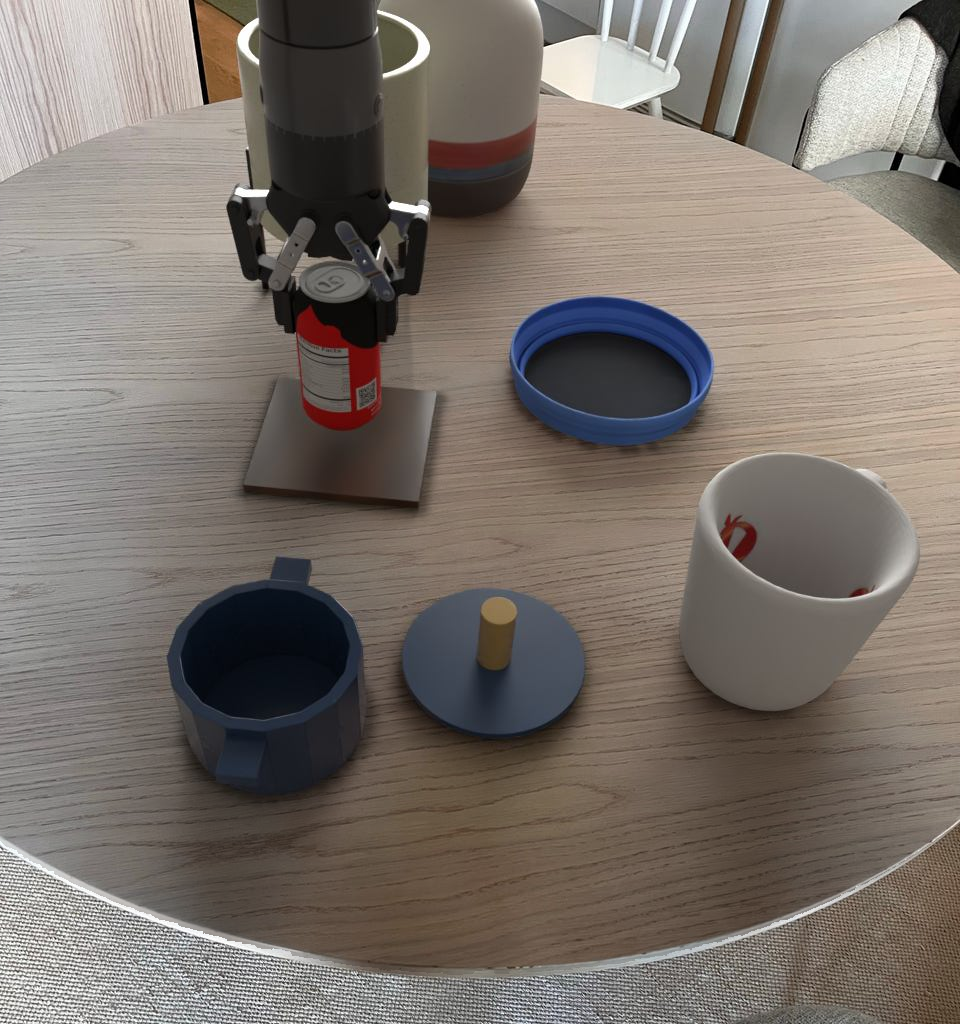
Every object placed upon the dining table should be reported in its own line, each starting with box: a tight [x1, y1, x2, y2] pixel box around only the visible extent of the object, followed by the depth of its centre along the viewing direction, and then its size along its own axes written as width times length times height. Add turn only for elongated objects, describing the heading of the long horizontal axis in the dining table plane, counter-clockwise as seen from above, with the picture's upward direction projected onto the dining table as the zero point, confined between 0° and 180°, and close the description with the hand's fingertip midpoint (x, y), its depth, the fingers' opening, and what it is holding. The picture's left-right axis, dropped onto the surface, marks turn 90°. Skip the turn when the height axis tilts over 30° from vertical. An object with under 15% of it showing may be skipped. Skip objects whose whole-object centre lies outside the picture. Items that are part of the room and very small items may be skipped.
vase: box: [377, 0, 545, 220], centre depth 103 cm, size 17×17×24 cm
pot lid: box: [401, 587, 587, 740], centre depth 69 cm, size 13×13×6 cm
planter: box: [235, 11, 430, 290], centre depth 89 cm, size 15×16×23 cm
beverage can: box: [293, 260, 382, 431], centre depth 78 cm, size 6×6×12 cm
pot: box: [166, 555, 367, 795], centre depth 65 cm, size 12×17×7 cm
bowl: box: [508, 295, 715, 446], centre depth 91 cm, size 18×18×4 cm
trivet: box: [242, 375, 438, 510], centre depth 85 cm, size 14×14×1 cm
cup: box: [678, 451, 921, 712], centre depth 69 cm, size 18×14×14 cm
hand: (337, 331), depth 77 cm, fingers closed on beverage can, 6 cm apart
